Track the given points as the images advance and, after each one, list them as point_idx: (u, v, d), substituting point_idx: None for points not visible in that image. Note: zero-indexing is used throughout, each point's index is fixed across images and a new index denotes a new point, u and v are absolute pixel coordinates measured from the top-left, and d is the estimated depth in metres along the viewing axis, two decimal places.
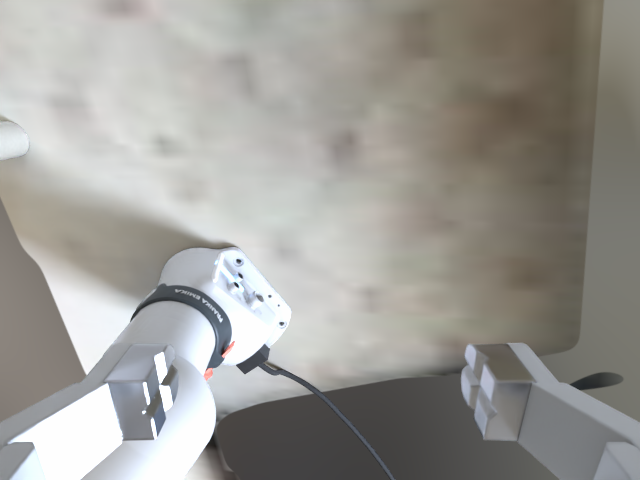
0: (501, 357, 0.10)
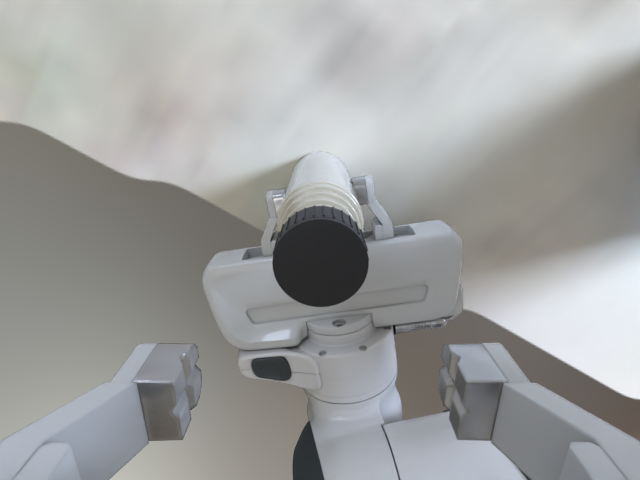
0: (475, 357, 0.10)
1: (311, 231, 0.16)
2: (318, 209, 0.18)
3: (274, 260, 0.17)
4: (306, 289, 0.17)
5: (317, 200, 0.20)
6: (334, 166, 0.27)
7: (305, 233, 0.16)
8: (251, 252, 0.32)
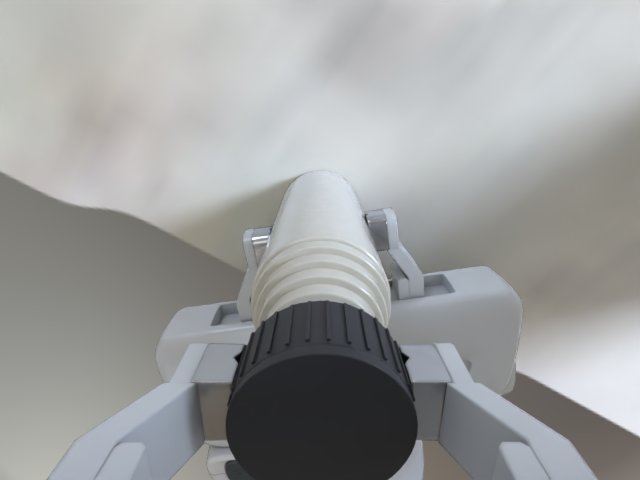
0: (424, 357, 0.10)
1: (302, 375, 0.08)
2: (317, 312, 0.09)
3: (228, 426, 0.08)
4: (294, 472, 0.09)
5: (315, 277, 0.11)
6: (341, 197, 0.19)
7: (290, 379, 0.08)
8: (227, 309, 0.23)
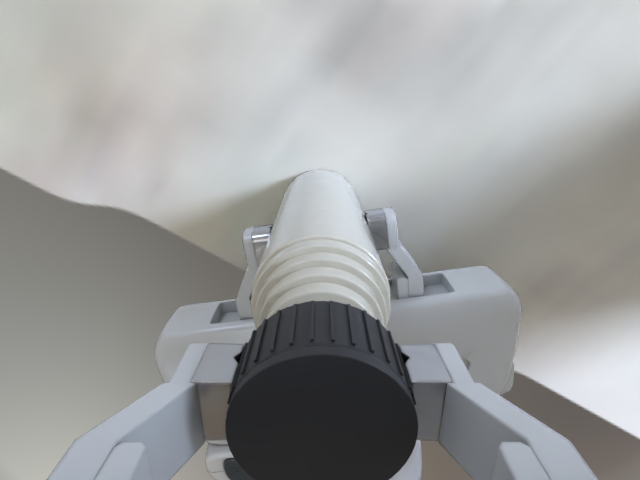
0: (424, 357, 0.10)
1: (248, 439, 0.08)
2: None
3: None
4: (369, 460, 0.09)
5: (316, 276, 0.11)
6: (341, 196, 0.19)
7: (251, 449, 0.09)
8: (226, 307, 0.23)
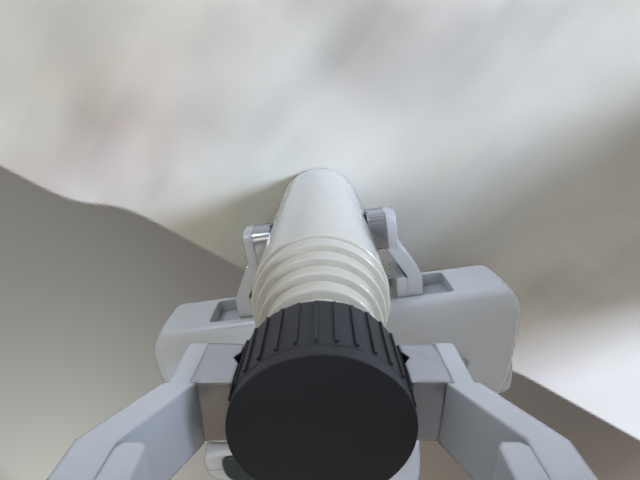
0: (424, 357, 0.10)
1: None
2: None
3: (404, 461, 0.09)
4: (367, 399, 0.08)
5: (316, 274, 0.11)
6: (340, 195, 0.19)
7: None
8: (226, 305, 0.23)
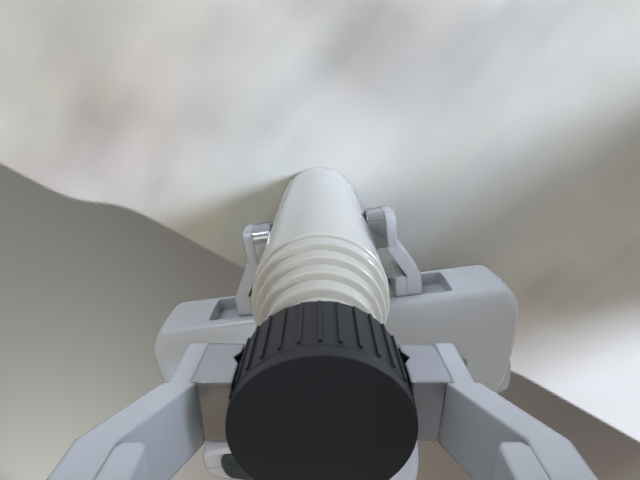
0: (424, 357, 0.10)
1: (393, 445, 0.09)
2: None
3: (374, 370, 0.08)
4: (282, 395, 0.08)
5: (316, 273, 0.12)
6: (340, 195, 0.19)
7: (395, 436, 0.08)
8: (225, 304, 0.23)
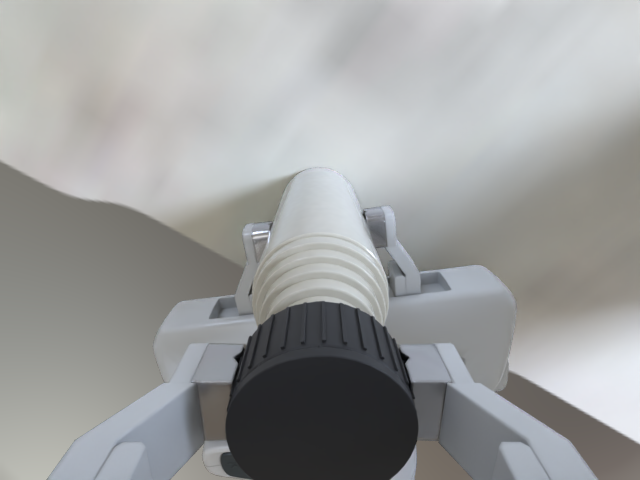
0: (424, 357, 0.10)
1: (348, 379, 0.08)
2: (365, 323, 0.09)
3: (246, 388, 0.08)
4: (269, 457, 0.09)
5: (316, 272, 0.12)
6: (340, 194, 0.19)
7: (335, 377, 0.08)
8: (225, 303, 0.23)
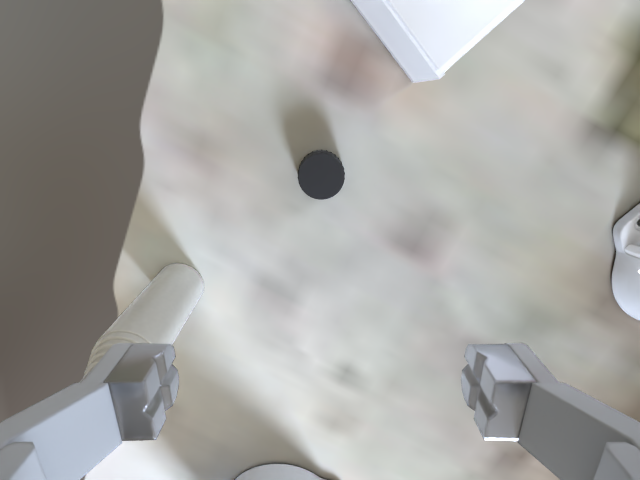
0: (501, 357, 0.10)
1: (327, 160, 0.35)
2: (332, 154, 0.36)
3: (304, 162, 0.35)
4: (308, 184, 0.35)
5: None
6: (184, 322, 0.36)
7: (324, 159, 0.35)
8: None
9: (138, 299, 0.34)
